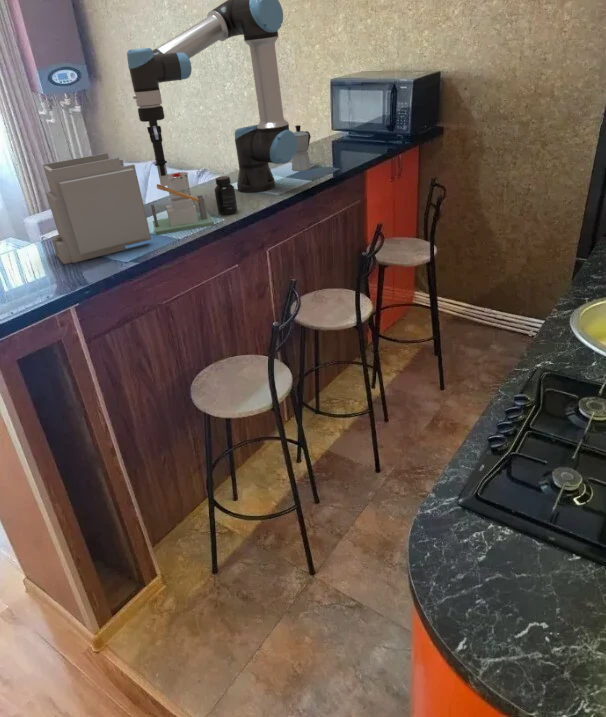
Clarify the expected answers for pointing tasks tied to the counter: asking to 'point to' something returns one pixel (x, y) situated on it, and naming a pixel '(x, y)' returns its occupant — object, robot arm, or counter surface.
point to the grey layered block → (95, 207)
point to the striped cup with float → (179, 183)
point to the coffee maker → (301, 151)
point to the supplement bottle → (225, 196)
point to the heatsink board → (181, 227)
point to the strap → (177, 193)
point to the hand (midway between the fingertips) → (165, 185)
